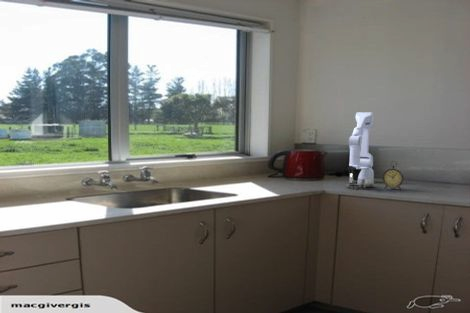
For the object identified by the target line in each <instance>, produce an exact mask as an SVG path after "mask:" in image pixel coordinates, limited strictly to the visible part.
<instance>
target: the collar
mask: <svg viewBox="0 0 470 313" xmlns="http://www.w3.org/2000/svg"><path fill="white" fill-rule="evenodd" d="M348 182H349V184H357V181H353V174H352V173H350V172H349V181H348Z"/></svg>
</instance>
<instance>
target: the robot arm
mask: <svg viewBox="0 0 470 313" xmlns="http://www.w3.org/2000/svg"><path fill="white" fill-rule="evenodd" d="M374 119H375V118H374V113H373V111H371V112H370V111H368V112H365V111H364V112H363V111H362V112H359V111H358V112H356V113H355V121H356V126H355V127H354V128H353V131H352V133H351V136H349V137H348V146H349V147H348V148H349V164H348V166H349V167H347V169H348V172H349V174H350V173H352V174H353V181H357V180H358V178H361V179H365V178H372V179H373V181H375V180H374V176H375V173H374V172H375V171H374V170H373V168H372V167H373V166H374V157H373V154H371V153H370V152H369V149H370V148H369V145H370V129H371V126H374Z"/></svg>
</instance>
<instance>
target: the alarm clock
mask: <svg viewBox="0 0 470 313" xmlns="http://www.w3.org/2000/svg"><path fill="white" fill-rule="evenodd" d="M393 162H395V165H392V163H393ZM397 164H398V163H397V161H396V160H391V162H390V166H391V168H388V169H386V170H385V171H384V172H383V174H382V182H383V184H384V185H385V187H384V190H385V189H386V188H391V189H395V188H396V189H397V188H398V189H399V190H400V191H402V188H401V185H402V184H403V182H404V173H403V172H402V171H401V170H400V169H398V168H396V166H397Z"/></svg>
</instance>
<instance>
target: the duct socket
mask: <svg viewBox="0 0 470 313" xmlns="http://www.w3.org/2000/svg"><path fill="white" fill-rule="evenodd" d="M374 184H375V180H373V179H372V178H365V179H361V178H358V180H357V184H345V189H348V190H362V189H365V188H370V187H371V188H372V187H374Z"/></svg>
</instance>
